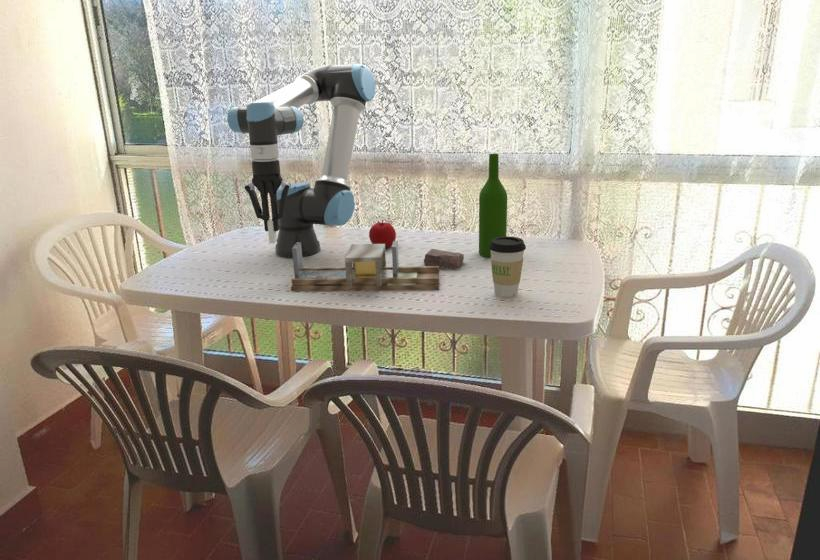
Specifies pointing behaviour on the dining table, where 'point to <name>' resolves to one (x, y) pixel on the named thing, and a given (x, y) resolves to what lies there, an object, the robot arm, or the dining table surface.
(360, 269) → the grey u-shaped piece
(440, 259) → the stone
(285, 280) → the dining table surface
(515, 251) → the coffee cup
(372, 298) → the dining table surface
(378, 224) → the apple
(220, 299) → the dining table surface
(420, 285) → the tunnel board
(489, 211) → the wine bottle
